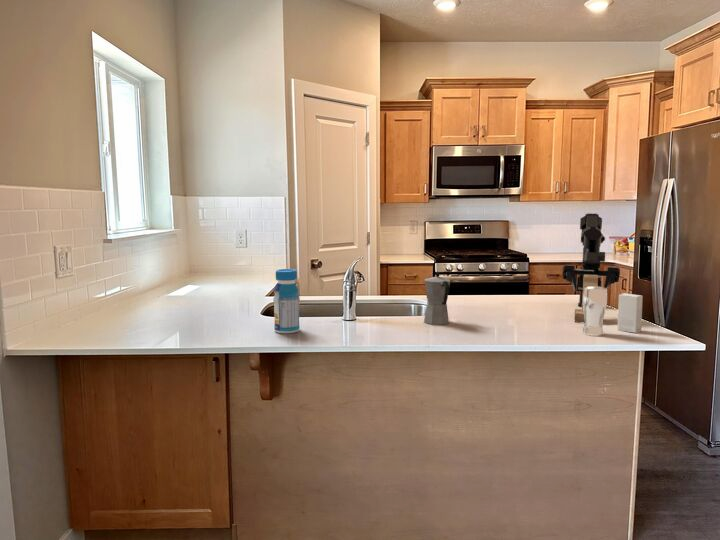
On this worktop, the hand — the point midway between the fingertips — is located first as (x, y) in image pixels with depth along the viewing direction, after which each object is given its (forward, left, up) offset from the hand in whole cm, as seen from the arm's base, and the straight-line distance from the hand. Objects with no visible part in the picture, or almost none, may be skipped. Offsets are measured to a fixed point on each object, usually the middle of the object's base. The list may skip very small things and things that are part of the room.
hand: (589, 292), depth 180 cm
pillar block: (-1, 0, -7) cm, 7 cm away
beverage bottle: (+55, -91, -11) cm, 107 cm away
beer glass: (+19, +1, -11) cm, 22 cm away
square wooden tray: (-1, 0, -10) cm, 11 cm away
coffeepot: (+24, -48, -11) cm, 55 cm away
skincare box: (+10, +12, -11) cm, 19 cm away
